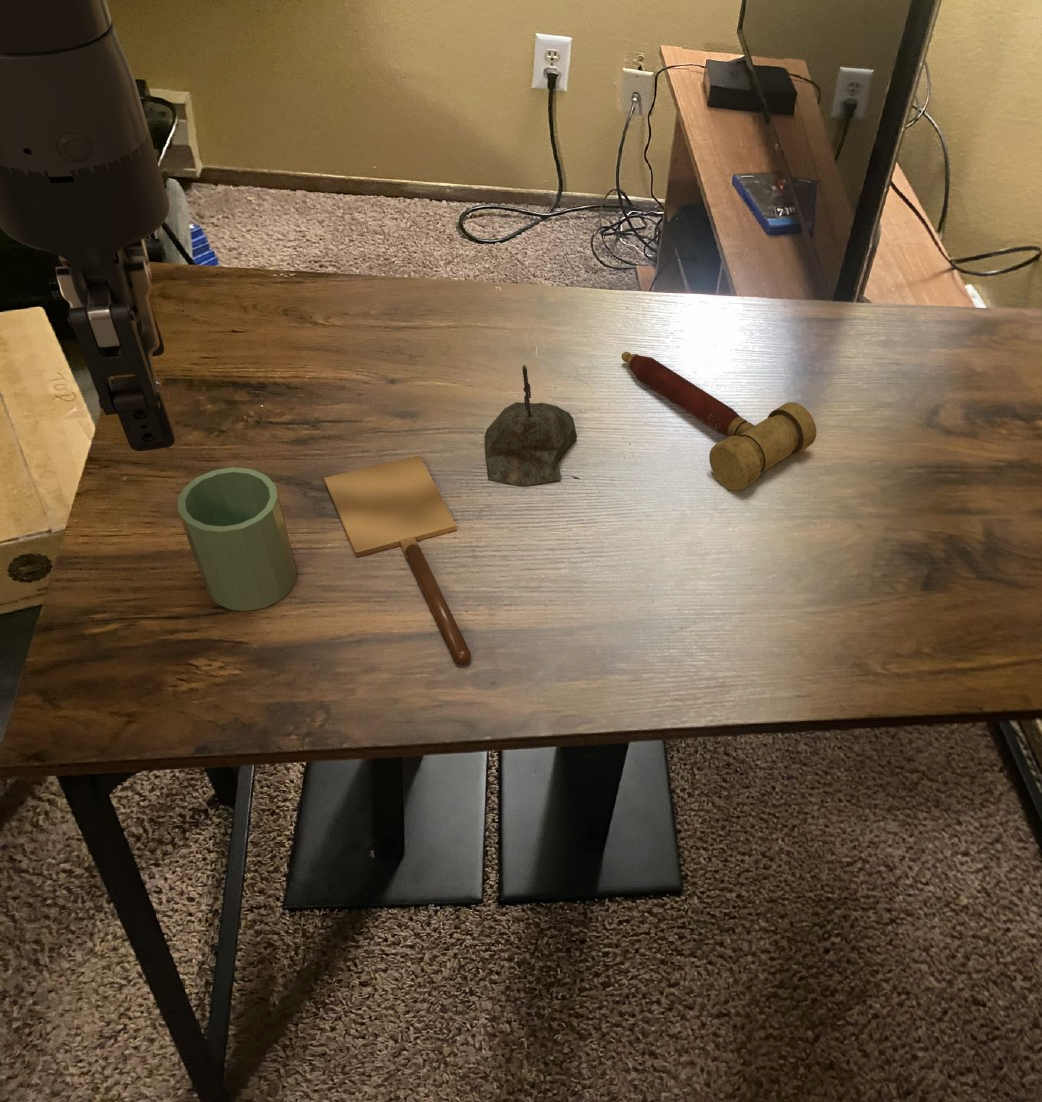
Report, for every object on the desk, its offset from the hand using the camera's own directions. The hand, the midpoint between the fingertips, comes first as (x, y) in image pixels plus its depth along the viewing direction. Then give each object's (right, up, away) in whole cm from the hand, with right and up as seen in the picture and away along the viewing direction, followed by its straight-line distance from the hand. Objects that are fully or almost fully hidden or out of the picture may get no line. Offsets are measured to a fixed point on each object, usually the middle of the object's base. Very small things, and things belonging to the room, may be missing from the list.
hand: (149, 397), depth 58 cm
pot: (-2, -11, +16) cm, 20 cm away
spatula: (+9, -10, +20) cm, 24 cm away
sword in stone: (+16, 0, +31) cm, 35 cm away
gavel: (+30, +4, +37) cm, 48 cm away
